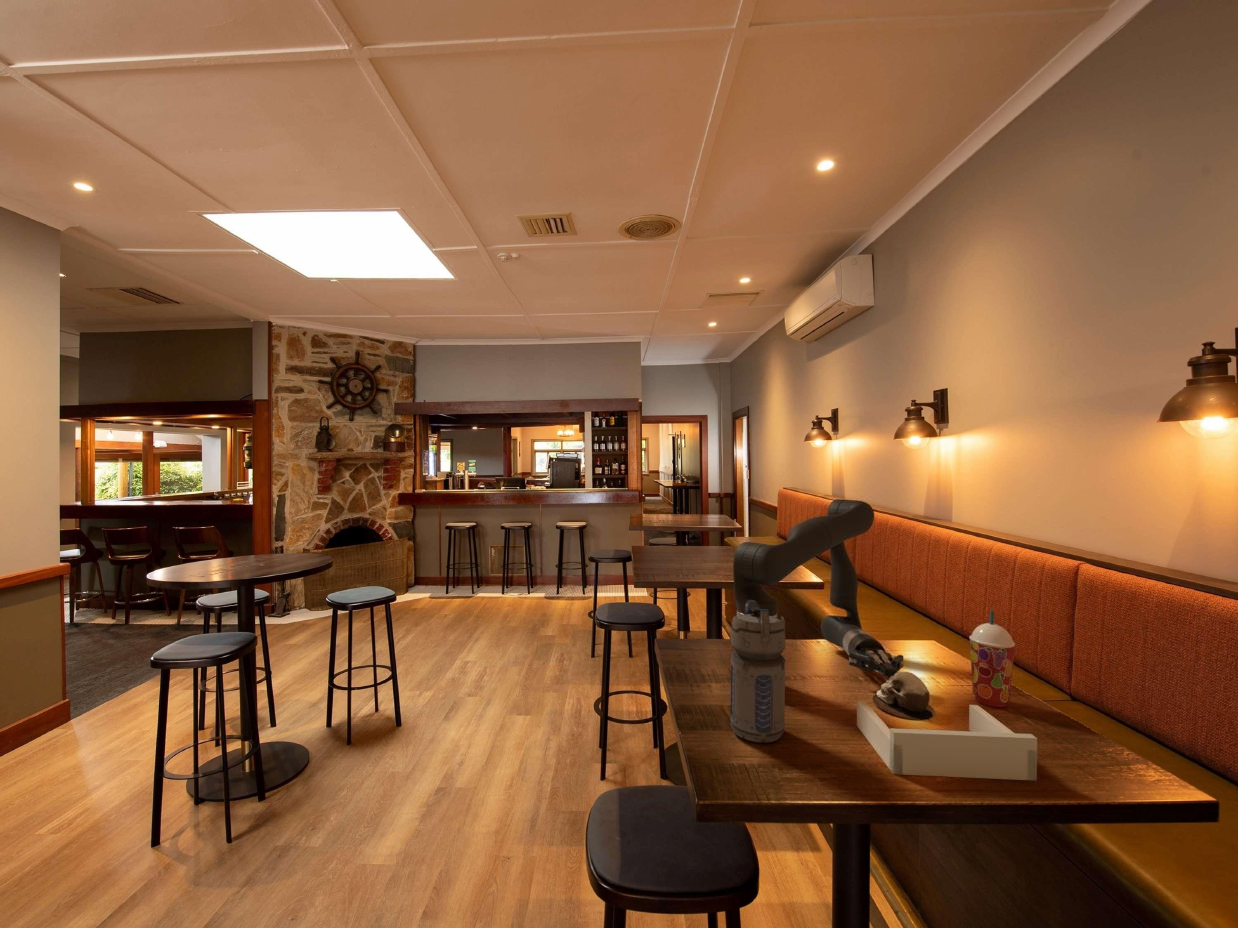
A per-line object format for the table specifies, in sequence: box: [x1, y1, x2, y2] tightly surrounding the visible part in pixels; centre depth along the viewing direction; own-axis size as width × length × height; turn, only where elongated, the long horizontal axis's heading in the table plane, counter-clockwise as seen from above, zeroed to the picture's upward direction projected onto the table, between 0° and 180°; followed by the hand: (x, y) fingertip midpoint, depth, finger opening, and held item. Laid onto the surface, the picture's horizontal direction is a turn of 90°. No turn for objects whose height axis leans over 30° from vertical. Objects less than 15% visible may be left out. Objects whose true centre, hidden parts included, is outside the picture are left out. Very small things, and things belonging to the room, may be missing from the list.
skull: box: [872, 671, 936, 721], centre depth 121 cm, size 12×10×10 cm
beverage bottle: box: [729, 600, 786, 744], centre depth 110 cm, size 10×13×25 cm
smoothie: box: [968, 610, 1016, 708], centre depth 124 cm, size 8×8×20 cm
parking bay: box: [856, 700, 1038, 782], centre depth 103 cm, size 23×18×7 cm
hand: (891, 673), depth 124 cm, fingers closed
